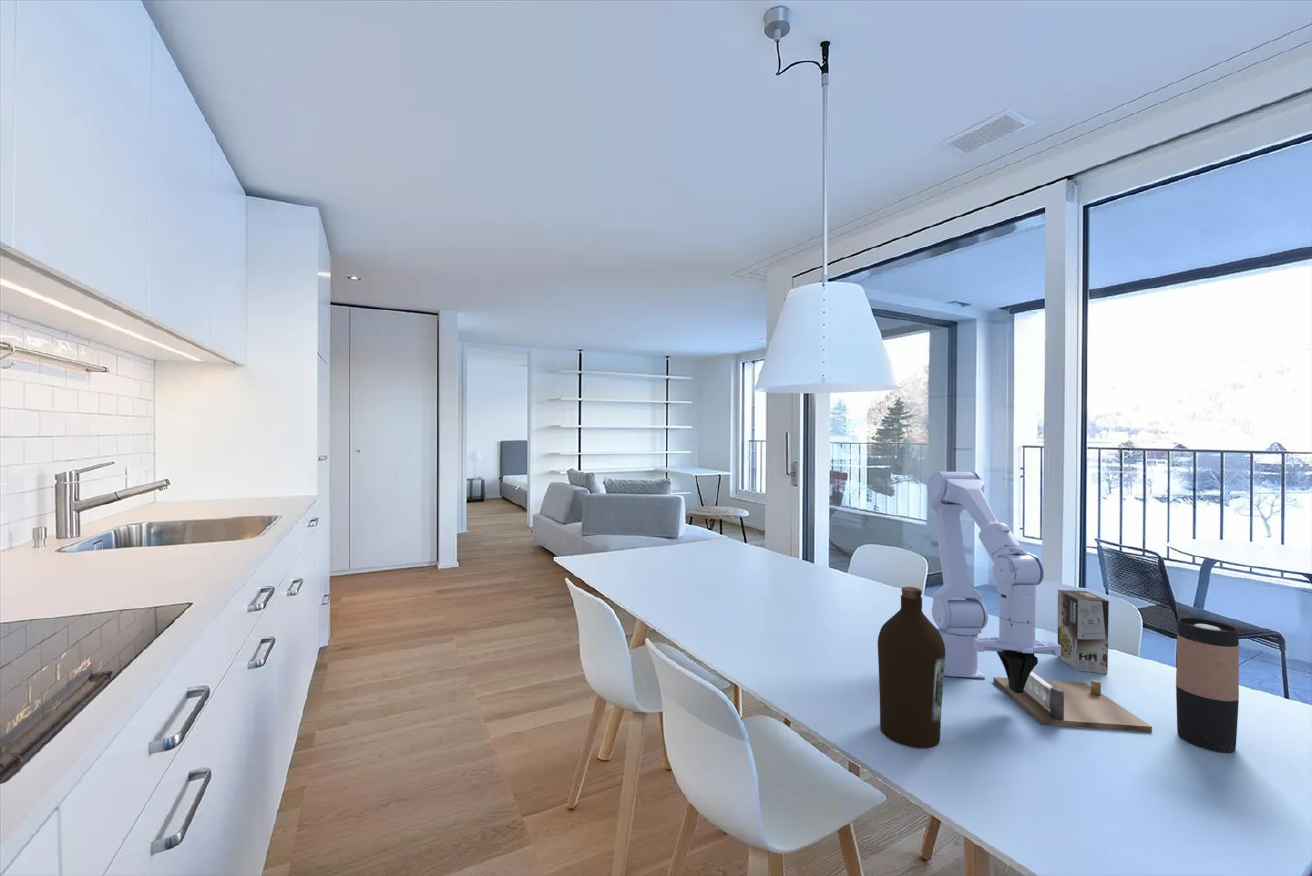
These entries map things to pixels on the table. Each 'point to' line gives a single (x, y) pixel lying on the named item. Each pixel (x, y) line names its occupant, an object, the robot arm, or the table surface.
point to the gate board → (1077, 707)
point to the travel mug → (1207, 684)
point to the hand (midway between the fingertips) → (1016, 690)
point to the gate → (1038, 689)
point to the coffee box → (1083, 630)
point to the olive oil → (911, 675)
